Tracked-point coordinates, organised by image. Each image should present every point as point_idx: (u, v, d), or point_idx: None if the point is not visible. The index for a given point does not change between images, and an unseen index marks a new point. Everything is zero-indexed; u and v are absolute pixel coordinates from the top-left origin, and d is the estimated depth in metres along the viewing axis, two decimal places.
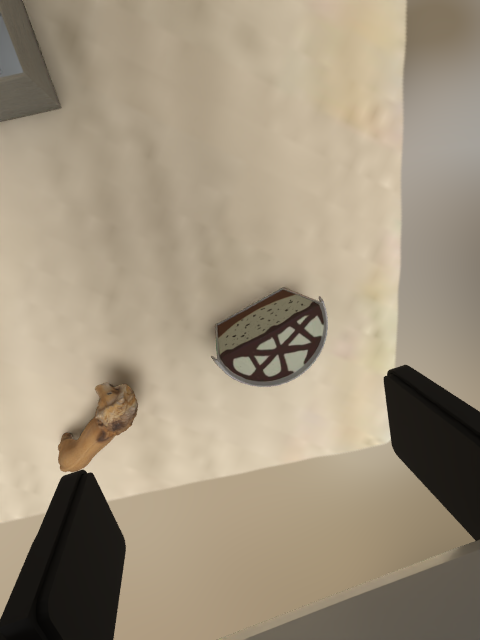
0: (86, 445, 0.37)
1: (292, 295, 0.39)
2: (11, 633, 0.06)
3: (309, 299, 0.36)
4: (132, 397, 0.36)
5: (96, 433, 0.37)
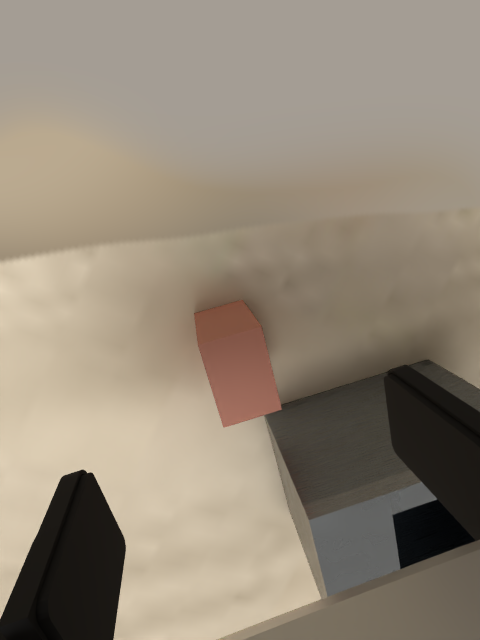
0: None
1: None
2: (11, 633, 0.06)
3: None
4: None
5: None
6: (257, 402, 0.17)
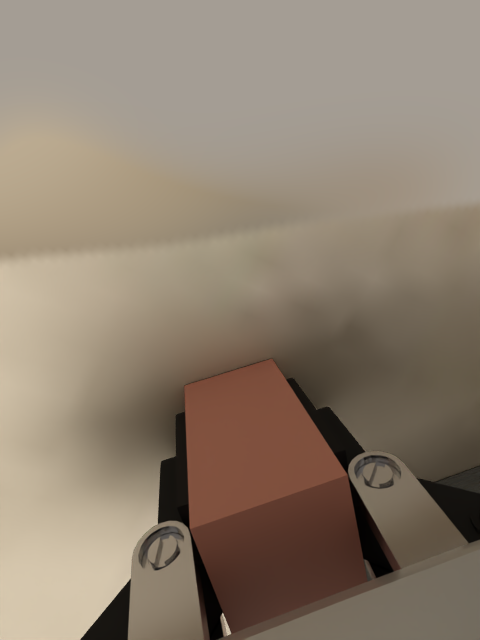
0: None
1: None
2: (185, 513, 0.08)
3: None
4: None
5: None
6: None
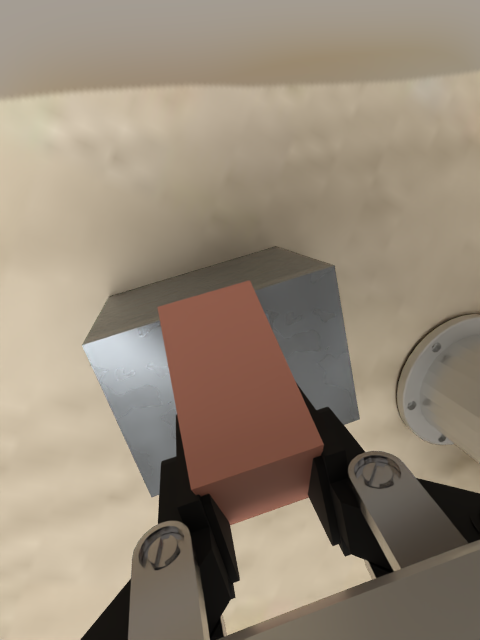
0: None
1: None
2: (185, 513, 0.08)
3: None
4: None
5: None
6: (281, 500, 0.10)
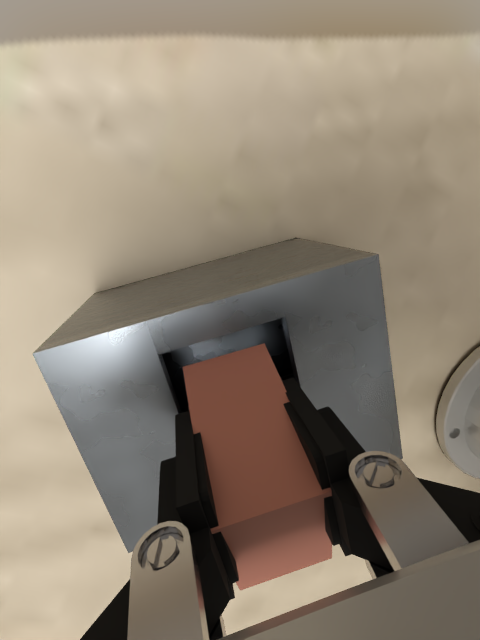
0: None
1: None
2: (184, 513, 0.08)
3: None
4: None
5: None
6: (297, 560, 0.11)
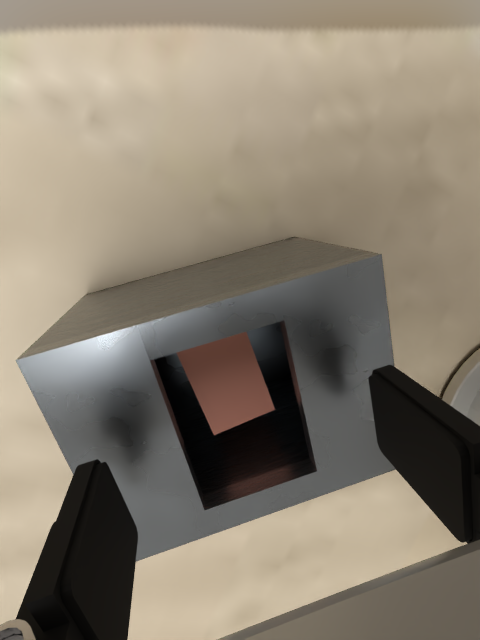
0: None
1: None
2: (37, 609, 0.06)
3: None
4: None
5: None
6: (247, 404, 0.16)
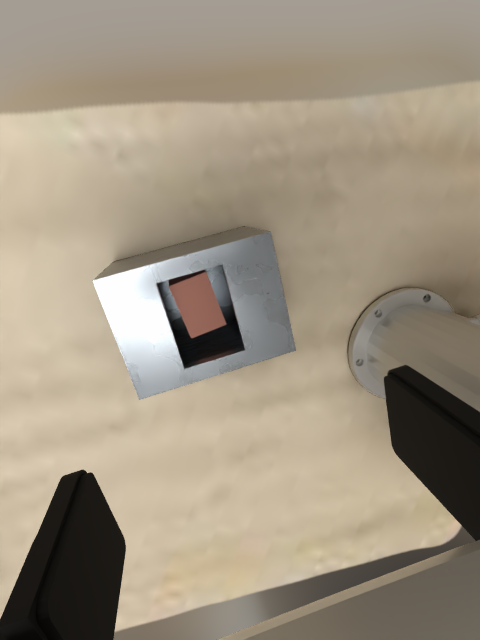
0: None
1: None
2: (11, 633, 0.06)
3: None
4: None
5: None
6: (210, 320, 0.28)
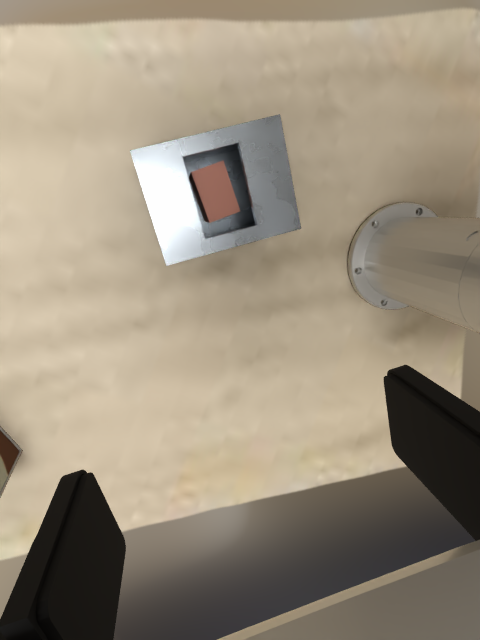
0: None
1: (7, 471, 0.38)
2: (11, 633, 0.06)
3: None
4: None
5: None
6: (226, 206, 0.32)
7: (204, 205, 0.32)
